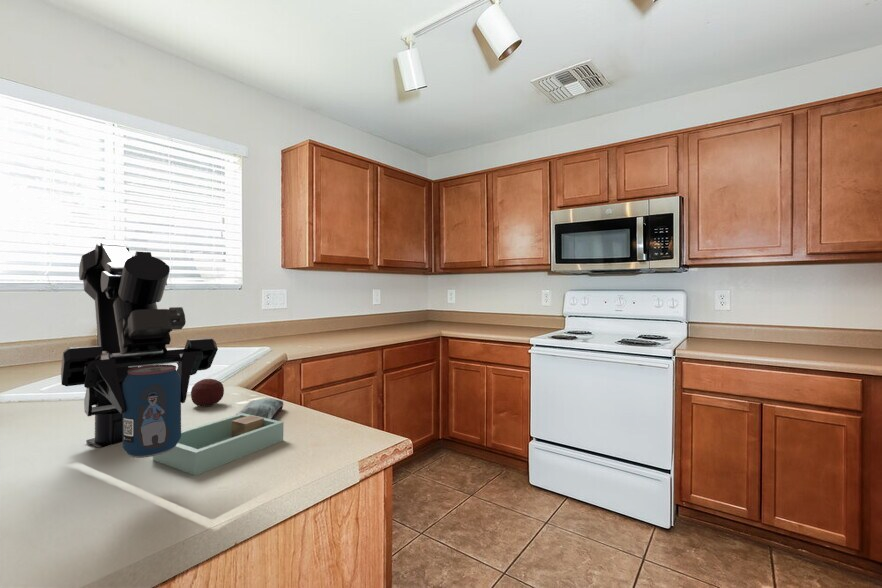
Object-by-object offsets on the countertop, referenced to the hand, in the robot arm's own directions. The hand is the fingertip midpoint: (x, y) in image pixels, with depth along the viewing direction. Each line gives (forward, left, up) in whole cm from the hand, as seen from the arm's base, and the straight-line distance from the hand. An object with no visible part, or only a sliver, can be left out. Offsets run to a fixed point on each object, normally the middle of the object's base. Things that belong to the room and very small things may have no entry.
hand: (154, 406), depth 57 cm
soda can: (-1, 0, -7) cm, 7 cm away
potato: (-39, +32, -13) cm, 52 cm away
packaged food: (-17, +30, -14) cm, 37 cm away
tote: (-6, +14, -13) cm, 20 cm away
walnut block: (-6, +20, -12) cm, 24 cm away
